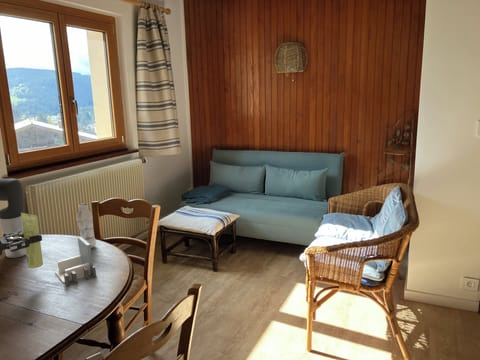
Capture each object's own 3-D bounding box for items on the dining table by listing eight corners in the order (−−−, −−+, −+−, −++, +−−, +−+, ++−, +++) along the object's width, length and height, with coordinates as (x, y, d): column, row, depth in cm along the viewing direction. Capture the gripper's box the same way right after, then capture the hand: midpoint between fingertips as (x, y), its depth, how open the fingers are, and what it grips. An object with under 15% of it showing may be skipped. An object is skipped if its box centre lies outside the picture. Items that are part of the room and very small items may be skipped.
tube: (45, 261, 144) (38, 210, 139) (44, 267, 139) (37, 215, 135) (28, 263, 142) (20, 212, 138) (26, 269, 138) (18, 217, 133)
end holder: (55, 273, 151) (50, 243, 148) (84, 264, 158) (80, 236, 155) (63, 283, 143) (58, 252, 140) (94, 273, 149) (90, 244, 146)
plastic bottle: (91, 251, 170) (85, 207, 165) (77, 250, 171) (71, 206, 166) (99, 245, 176) (94, 202, 171) (85, 244, 177) (80, 202, 173)
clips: (65, 284, 142) (63, 274, 141) (94, 274, 149) (93, 265, 148) (66, 286, 140) (65, 276, 139) (96, 276, 147) (95, 267, 146)
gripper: (-15, 243, 123) (43, 230, 133) (-22, 231, 134) (33, 220, 144) (-11, 265, 125) (46, 251, 135) (-18, 251, 136) (36, 239, 146)
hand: (39, 235), depth 140 cm, fingers closed on tube, 5 cm apart
